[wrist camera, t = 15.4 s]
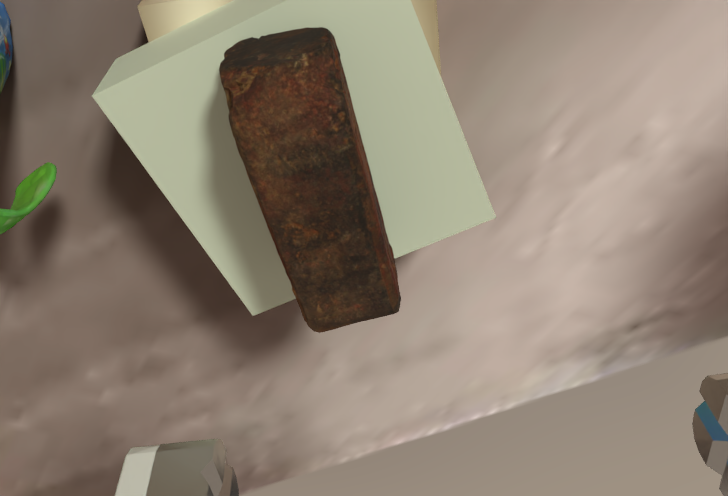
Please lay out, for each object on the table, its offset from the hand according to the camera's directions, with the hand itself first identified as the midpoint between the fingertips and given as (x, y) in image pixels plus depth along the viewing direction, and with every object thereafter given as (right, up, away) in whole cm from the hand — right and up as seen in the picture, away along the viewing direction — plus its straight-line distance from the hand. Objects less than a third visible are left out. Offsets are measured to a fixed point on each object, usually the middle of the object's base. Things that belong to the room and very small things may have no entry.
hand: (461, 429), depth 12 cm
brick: (-4, +7, +16) cm, 18 cm away
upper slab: (-4, +9, +19) cm, 21 cm away
